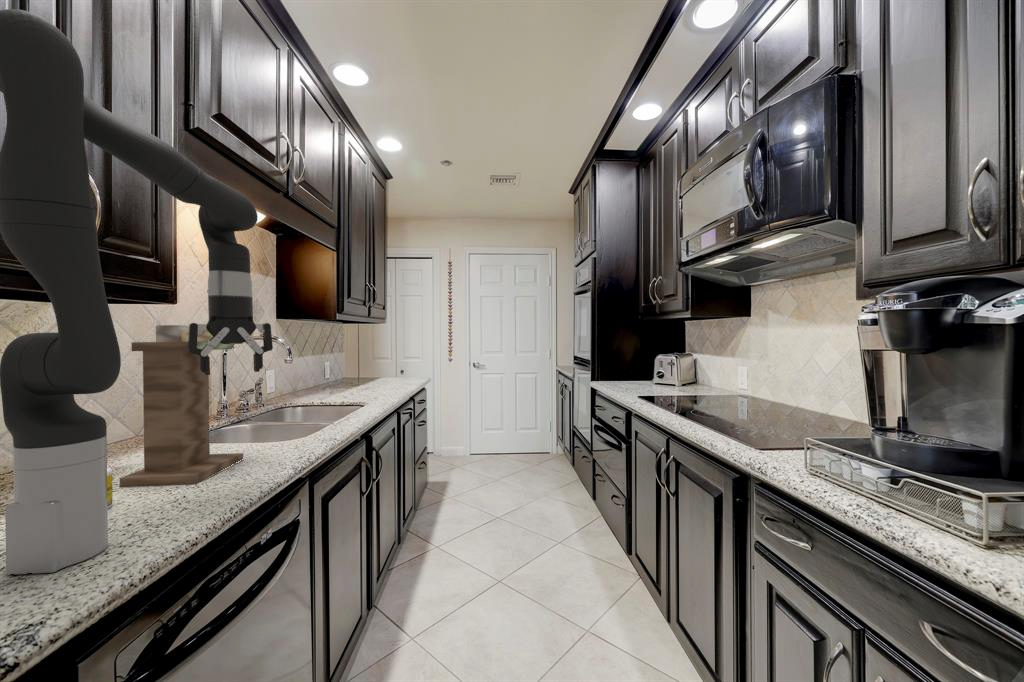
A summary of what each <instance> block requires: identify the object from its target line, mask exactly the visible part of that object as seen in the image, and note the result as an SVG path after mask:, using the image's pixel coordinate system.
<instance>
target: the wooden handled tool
mask: <svg viewBox="0 0 1024 682" xmlns="http://www.w3.org/2000/svg"><path fill="white" fill-rule="evenodd" d="M188 337H189V325H180V324H174V325H172V324H170V325H167V324H165V325H164V324H162V325H160V324H159V325H157V324H156V325H155V342H188ZM212 337H213V336H212V335H211V334H210V333H209V332H208V331H207V329H204V330H203V331H202V333H201V334H198V336H197V342H208V341H209V340H210V339H211V338H212ZM251 337H252V338H253V339H254V332H253V333H252V334H251Z"/></svg>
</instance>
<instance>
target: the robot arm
mask: <svg viewBox="0 0 1024 682" xmlns="http://www.w3.org/2000/svg"><path fill="white" fill-rule="evenodd" d="M80 58H81V57H80V56H79V54H78V52H77V50H76V48H75V46H74V45H73V44H72V42H71V41H70V40H69V38H68V37H67V36H66V35H65V34H64V33H63V32H62V31H61V30H60V29H59V28H58V27H57V26H56V25H54V24H53V23H51V21H49V20H47V19H46V18H44V17H42V16H40V15H39V14H36V13H34V12H31V11H29V10H28V11H27V10H24V9H16V8H15V9H12V8H11V9H10V8H7V9H6V8H5V9H0V93H2V94H3V99H4V104H5V113H6V115H5V116H6V118H5V119H6V122H5V133H4V135H3V136H4V137H3V140H2V144H1V147H0V235H1V238H2V240H3V243H4V244H5V245H6V246H7V248H8V249H9V250H10V251H9V252H11V254H12V255H13V256H14V257H15V259H17V260H18V262H19V263H20V264H21V265H22V266H23V267H24V268H25V270H26V271H27V272H28V273H29V274H30V275H31V276H32V277H33V279H35V280H36V281H37V283H38V284H39V285H40V287H41V288H42V289H43V291H44V292H45V294H46V295H47V296H48V298H49V301H50V303H51V305H52V308H53V311H54V317H55V320H56V326H57V332H35V333H34V332H33V333H27V334H23V335H21V336H17V337H16V338H14V339H13V340H12V341H11V342H9V344H7V346H6V347H5V349H4V351H3V353H2V356H1V359H0V395H1V405H2V414H3V415H2V416H3V422H4V425H5V428H6V429H7V431H8V432H9V434H10V435H11V436H12V446H13V447H12V448H13V454H12V455H13V456H12V457H13V502H12V503H9V504H7V505H6V506H5V508H4V509H5V512H4V513H5V517H4V518H5V573H6V574H14V575H28V574H27V573H32V574H46V573H49V574H50V573H56V572H57V571H59V570H61V569H63V568H66V567H69V566H70V567H71V566H72V565H75V564H78V563H81V562H83V561H86V560H88V559H90V558H93V557H94V556H96V555H99V554H100V553H102V552H103V551H104V550H106V549H107V547H108V545H109V518H108V517H109V516H108V510H109V509H107V467H108V463H107V459H108V457H107V455H108V454H107V453H108V449H107V448H108V445H107V441H108V439H107V434H108V433H107V429H108V428H107V421H106V419H105V418H104V417H103V416H102V415H99V414H96V413H94V412H93V413H92V412H90V411H88V410H86V409H84V408H82V407H81V406H79V404H78V403H77V402H76V400H75V395H92V394H99V393H102V392H105V391H107V390H108V389H110V388H111V387H112V386H113V385H114V384H115V383H116V381H117V380H118V378H119V375H120V371H121V366H122V365H121V364H122V363H121V362H122V361H121V360H122V359H121V351H120V345H119V342H118V337H117V333H116V329H115V325H114V321H113V318H112V315H111V310H110V307H109V306H110V305H109V302H108V299H107V295H106V294H107V293H106V289H105V284H104V277H103V271H102V265H101V259H100V252H99V240H98V238H99V237H98V236H99V235H98V229H97V228H98V227H97V221H96V220H97V219H96V213H95V206H94V200H93V196H92V190H91V189H92V188H91V180H90V173H89V172H90V171H89V164H88V158H87V151H86V144H85V140H87V141H88V142H90V143H92V144H94V145H95V146H97V147H98V148H100V149H101V150H103V151H105V152H107V153H108V154H109V155H111V156H113V157H115V158H116V159H118V160H119V161H121V162H122V163H124V164H126V165H127V166H129V167H130V168H132V169H133V170H135V171H136V172H137V173H138V174H140V175H142V176H143V177H145V178H146V179H147V180H149V181H151V182H152V183H153V184H155V185H156V186H157V187H159V188H160V189H162V190H163V191H165V192H166V193H167V194H169V195H171V197H173V198H174V199H176V200H179V201H181V202H182V203H184V204H185V203H186V204H190V205H197V206H199V208H198V215H197V216H198V221H199V222H198V223H199V227H200V230H201V234H202V236H203V240H204V242H205V246H206V248H207V251H208V279H207V288H206V289H207V291H206V293H207V299H208V300H207V303H208V304H207V305H208V321H207V323H205V324H204V323H196V322H190V323H189V325H188V326H189V337H188V351H189V352H190V353H192V354H196V355H199V357H200V370H201V372H205V375H209V376H210V375H211V366H210V365H211V364H210V363H211V362H210V361H211V360H210V359H211V358H210V356H209V355H210V353H211V352H212V351H213V349H214V348H215V347H216V346H217V344H218V343H221V344H231V343H234V344H236V345H240V344H241V345H242V344H246V345H247V346H248V347H250V349H251V350H252V351H253V352H254V353H253V356H252V357H253V371H254V373H258V372H259V373H260V370H262V369H263V367H264V358H263V355H264V353H267V352H271V351H272V350H273V349H274V348H273V345H274V344H273V336H272V334H273V333H272V326H271V324H270V323H268V322H263V323H255V322H254V304H253V282H252V276H251V255H250V250H249V248H248V247H247V246H245V244H244V245H243V244H241V243H238V241H237V238H236V235H235V232H243V231H247V230H251V229H253V228H254V227H255V226H256V224H257V222H258V211H257V209H256V207H255V206H254V203H252V202H251V201H250V199H248V197H247V196H246V195H244V194H242V193H241V192H240V191H239V190H236V189H235V188H233V187H231V186H229V185H228V184H226V183H224V182H222V181H221V180H219V179H217V178H216V177H213V176H211V175H209V174H207V173H205V172H204V171H203V170H202V169H201V168H200V167H198V165H196V164H195V163H193V162H192V161H191V160H190V159H188V158H187V157H186V156H185V155H183V153H181V152H180V151H178V150H177V149H176V148H174V147H173V146H172V145H170V144H169V143H168V142H166V141H164V140H163V139H161V138H159V137H157V136H156V135H154V134H152V133H150V132H148V131H146V130H144V129H142V128H141V127H139V126H137V125H135V124H133V123H131V122H129V121H127V120H125V119H123V118H121V117H120V116H118V115H117V114H114V113H112V112H111V111H109V110H107V109H106V108H104V107H103V106H101V105H100V104H98V103H97V102H95V101H94V100H93V99H91V98H90V97H88V96H87V95H86V94H84V93H85V75H84V68H83V65H82V61H81V59H80ZM204 329H207V331H208V332H209V333H210V334H211V335H212V336H213V337H212V338H211V339H210V340H209V341H208V342H207V344H206V345H205V346H204V347H203V348H202V349H199V348H197V336H198V334H201V333H202V331H203V330H204ZM256 330H257V331H258V333H260V334H262V340H263V341H262V342H263V343H262V344H263V345H262V346H260V345H259V344H258V342H257V341H256V340H255V339H254V337H253V338H252V337H251V334H252V333H253V334H254V332H255V331H256ZM6 574H5V575H6Z"/></svg>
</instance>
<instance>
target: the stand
mask: <svg viewBox="0 0 1024 682" xmlns="http://www.w3.org/2000/svg"><path fill="white" fill-rule="evenodd" d="M206 344H207V342H197V348H199V349H202V348H203V347H204V346H205V345H206ZM232 349H235V343H231V344H221V343H218V344H217V346H216V347H215V348H214V349H213V350H218V351H219V350H232ZM213 350H212V351H213ZM131 352H142V384H143V385H142V390H143V392H142V397H143V398H142V399H143V400H142V401H143V403H142V404H143V405H142V406H143V463H144V465H143V466H144V467H143V468H142V469H140V470H137V471H135V472H132V473H130V474H127V475H124V476H121V477H119V488H129V487H130V488H132V487H133V488H134V487H157V486H182V485H187V486H188V485H198V484H200V483H202V482H204V481H205V479H206V478H208V477H210V476H212V475H213V474H215V473H217V472H219V471H221V470H223V469H225V468H227V467H229V466H231V465H232V464H235V463H236V462H238V461H240V460H242V459H243V460H244V453H243V452H241V453H240V452H237V453H233V452H232V453H212V454H211V453H210V391H209V389H210V387H209V386H210V385H209V383H210V382H209V381H210V377H209V376H210V375H205V372H201V370H200V357H199V355H196V354H192V353H190V352H189V351H188V342H156V341H140V342H139V341H138V342H137V341H136V342H135V341H134V342H133V341H132V342H131ZM235 465H236V464H235ZM212 477H213V476H212ZM210 478H211V477H210ZM208 479H209V478H208ZM203 480H204V481H203ZM206 480H207V479H206ZM201 481H202V482H201ZM199 482H200V483H199ZM197 483H198V484H197Z"/></svg>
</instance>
